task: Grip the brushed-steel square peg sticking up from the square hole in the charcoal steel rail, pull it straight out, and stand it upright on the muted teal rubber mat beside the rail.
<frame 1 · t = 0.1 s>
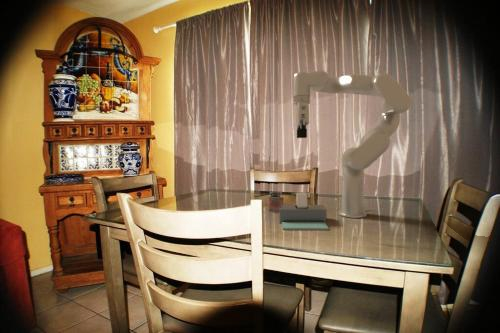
hand: (301, 137, 132), 37 cm above the table, tool pointing down, fingers open, 9 cm apart
lighter: (275, 211, 143), on the table
mat: (304, 226, 117), on the table
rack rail: (301, 220, 127), on the table
peg: (301, 207, 126), in the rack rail
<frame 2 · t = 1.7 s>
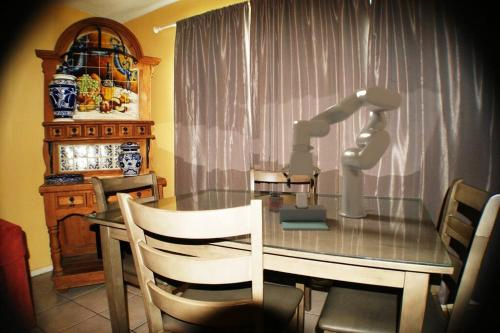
hand: (300, 187, 125), 15 cm above the table, tool pointing down, fingers open, 9 cm apart
nothing on the table moved.
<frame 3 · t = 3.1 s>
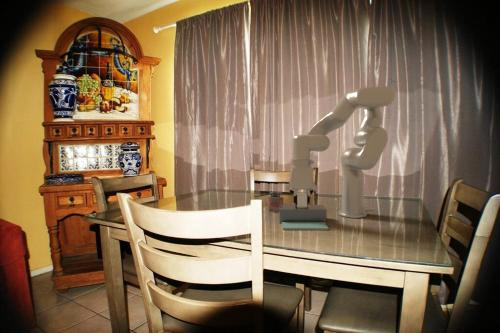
hand: (301, 204, 126), 7 cm above the table, tool pointing down, fingers closed on peg, 4 cm apart
peg: (301, 207, 126), in the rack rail, touching gripper
everything else where it was.
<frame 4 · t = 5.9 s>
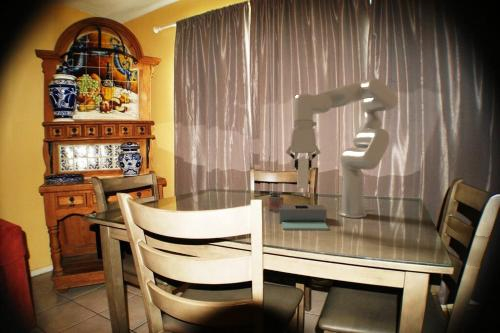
hand: (302, 169, 118), 24 cm above the table, tool pointing down, fingers closed on peg, 4 cm apart
peg: (302, 173, 118), point 22 cm above the table, touching gripper
everything else where it was.
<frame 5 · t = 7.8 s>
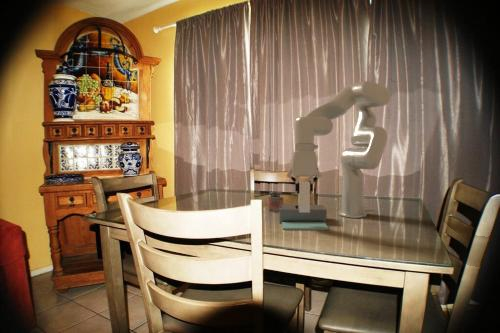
hand: (304, 192, 116), 14 cm above the table, tool pointing down, fingers closed on peg, 4 cm apart
peg: (303, 196, 116), point 13 cm above the table, touching gripper
everything else where it was.
when the fingers open (10 cm above the table, at t = 9.0 s): peg drops 1 cm, resting on mat.
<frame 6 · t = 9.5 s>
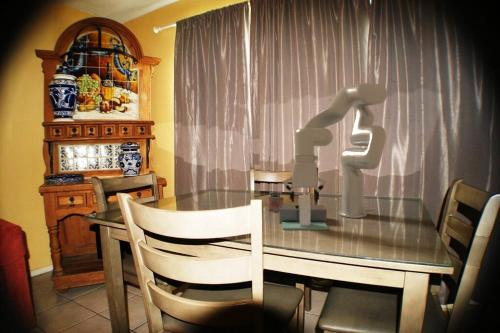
hand: (304, 201, 116), 11 cm above the table, tool pointing down, fingers open, 9 cm apart
peg: (304, 210, 117), on the mat, point 7 cm above the table
everything else where it was.
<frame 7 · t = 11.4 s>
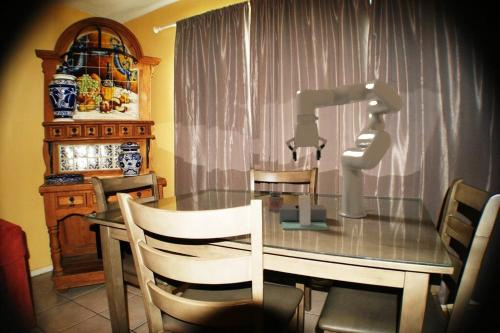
hand: (306, 160, 121), 27 cm above the table, tool pointing down, fingers open, 9 cm apart
nothing on the table moved.
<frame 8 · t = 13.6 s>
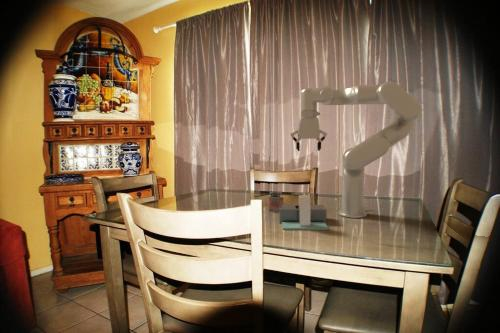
hand: (308, 150, 138), 30 cm above the table, tool pointing down, fingers open, 9 cm apart
nothing on the table moved.
at the end: peg inside the target area on the mat (0.1 cm from its centre), point 6.8 cm above the mat's base; peg tilted 0°; the gripper is holding nothing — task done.
